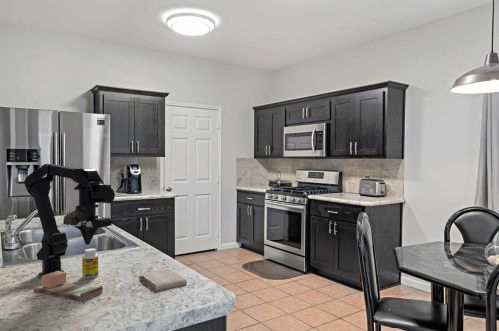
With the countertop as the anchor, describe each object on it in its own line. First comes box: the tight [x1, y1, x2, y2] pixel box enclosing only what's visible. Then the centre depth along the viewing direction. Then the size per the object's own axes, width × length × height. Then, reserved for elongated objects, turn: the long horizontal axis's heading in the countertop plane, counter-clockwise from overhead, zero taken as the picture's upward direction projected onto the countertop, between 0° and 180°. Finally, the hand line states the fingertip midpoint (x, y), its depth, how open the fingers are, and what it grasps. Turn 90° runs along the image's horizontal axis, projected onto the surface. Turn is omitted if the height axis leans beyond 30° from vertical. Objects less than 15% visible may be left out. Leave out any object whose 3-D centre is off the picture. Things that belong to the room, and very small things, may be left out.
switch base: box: [33, 282, 104, 302], centre depth 120 cm, size 22×8×2 cm, turn 67°
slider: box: [41, 271, 67, 288], centre depth 123 cm, size 4×6×4 cm, turn 157°
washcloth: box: [138, 267, 188, 292], centre depth 131 cm, size 12×18×3 cm, turn 38°
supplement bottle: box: [81, 248, 99, 279], centre depth 136 cm, size 6×6×10 cm
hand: (87, 244), depth 134 cm, fingers closed
